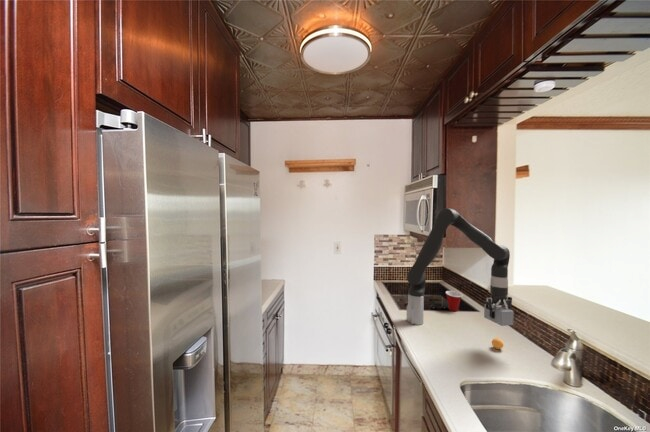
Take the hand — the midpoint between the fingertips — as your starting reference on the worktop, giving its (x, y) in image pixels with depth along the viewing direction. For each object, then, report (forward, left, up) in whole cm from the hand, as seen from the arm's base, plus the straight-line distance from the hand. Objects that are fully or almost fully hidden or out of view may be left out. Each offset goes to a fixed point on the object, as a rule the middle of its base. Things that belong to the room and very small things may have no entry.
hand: (498, 317), depth 134 cm
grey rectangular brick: (0, 0, -2) cm, 2 cm away
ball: (0, 0, -13) cm, 13 cm away
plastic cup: (+14, +51, -16) cm, 55 cm away
